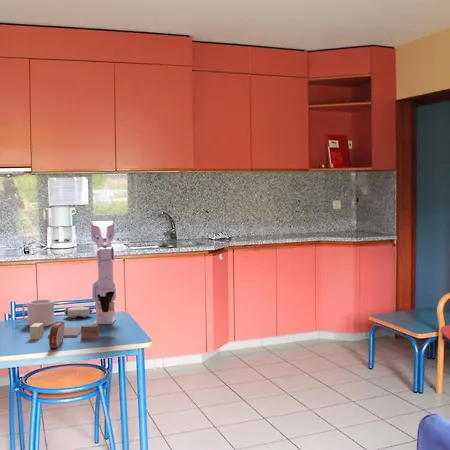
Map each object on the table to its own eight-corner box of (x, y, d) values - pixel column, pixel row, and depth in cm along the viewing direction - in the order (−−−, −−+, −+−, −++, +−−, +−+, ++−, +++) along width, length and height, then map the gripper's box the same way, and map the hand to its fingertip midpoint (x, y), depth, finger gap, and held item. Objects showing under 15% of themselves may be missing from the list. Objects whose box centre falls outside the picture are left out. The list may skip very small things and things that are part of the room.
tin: (57, 340, 222) (57, 318, 221) (65, 340, 222) (65, 318, 221) (48, 351, 207) (47, 327, 206) (57, 351, 207) (56, 327, 206)
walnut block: (83, 337, 226) (83, 324, 226) (98, 337, 226) (98, 324, 226) (81, 339, 223) (81, 326, 222) (96, 339, 223) (96, 326, 223)
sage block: (30, 339, 223) (29, 326, 223) (34, 335, 229) (34, 323, 229) (39, 339, 223) (39, 326, 223) (43, 335, 229) (43, 323, 229)
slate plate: (56, 329, 239) (56, 327, 238) (83, 329, 239) (83, 327, 239) (48, 337, 226) (48, 335, 226) (76, 337, 226) (76, 335, 226)
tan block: (99, 314, 234) (99, 301, 234) (114, 314, 234) (114, 301, 234) (97, 316, 230) (97, 303, 230) (113, 315, 231) (112, 303, 230)
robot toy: (63, 315, 269) (64, 320, 255) (63, 305, 269) (64, 309, 255) (90, 313, 273) (93, 318, 258) (90, 304, 273) (93, 308, 258)
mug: (58, 321, 252) (57, 299, 252) (48, 327, 242) (47, 304, 241) (28, 321, 254) (27, 298, 253) (17, 327, 243) (16, 303, 242)
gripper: (112, 280, 224) (113, 314, 225) (118, 274, 239) (118, 307, 240) (94, 280, 224) (95, 314, 225) (101, 274, 238) (101, 307, 239)
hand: (106, 310), depth 232 cm, fingers closed on tan block, 3 cm apart
